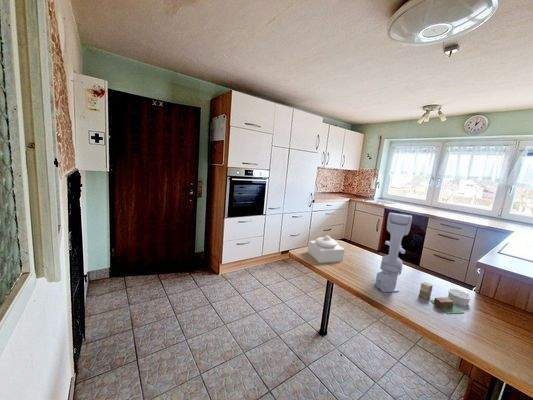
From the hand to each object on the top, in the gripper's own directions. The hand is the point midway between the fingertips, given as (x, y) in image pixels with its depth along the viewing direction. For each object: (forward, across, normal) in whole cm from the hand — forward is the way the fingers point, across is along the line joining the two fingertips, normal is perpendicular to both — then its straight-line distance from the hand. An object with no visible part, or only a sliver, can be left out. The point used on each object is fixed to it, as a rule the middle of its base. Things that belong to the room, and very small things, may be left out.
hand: (392, 260), depth 136 cm
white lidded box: (+11, +28, +30) cm, 42 cm away
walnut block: (+8, -29, -4) cm, 30 cm away
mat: (+10, -29, -9) cm, 32 cm away
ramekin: (+11, -25, -20) cm, 34 cm away
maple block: (+10, -20, -5) cm, 24 cm away
